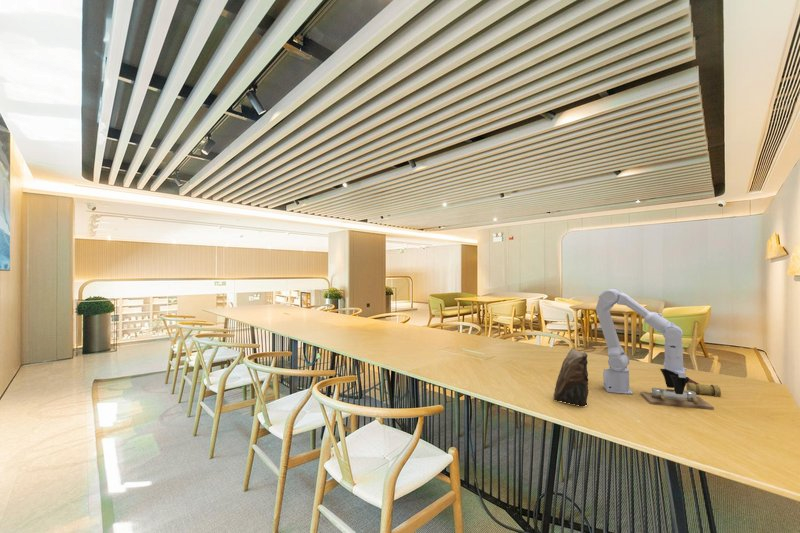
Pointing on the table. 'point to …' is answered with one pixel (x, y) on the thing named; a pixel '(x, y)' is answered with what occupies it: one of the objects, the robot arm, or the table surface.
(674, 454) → the table surface
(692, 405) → the board
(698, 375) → the table surface
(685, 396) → the silver ball-ended bar
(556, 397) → the dark brown rock
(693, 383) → the gavel
